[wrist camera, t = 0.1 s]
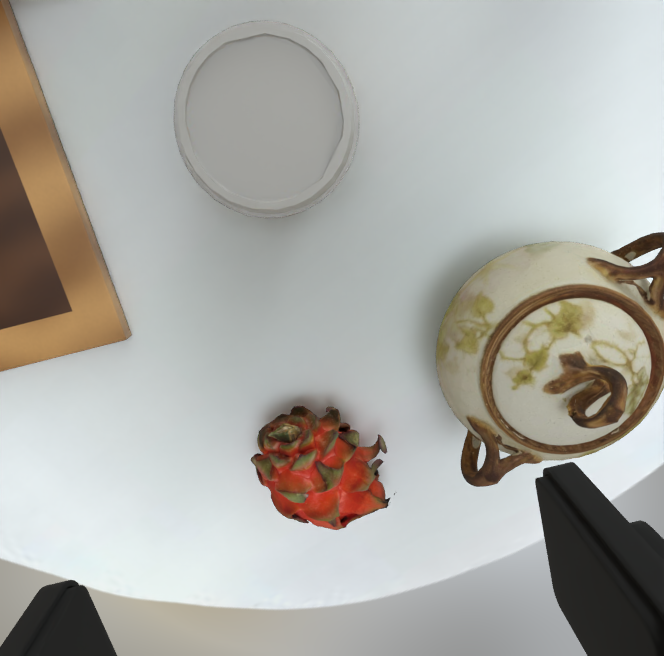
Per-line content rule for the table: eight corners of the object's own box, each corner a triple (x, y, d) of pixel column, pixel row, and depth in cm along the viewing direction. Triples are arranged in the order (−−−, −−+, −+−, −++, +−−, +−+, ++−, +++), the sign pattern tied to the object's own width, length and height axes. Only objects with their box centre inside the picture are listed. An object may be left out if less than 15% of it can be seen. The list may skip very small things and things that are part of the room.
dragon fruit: (262, 386, 44) (372, 453, 48) (211, 482, 41) (333, 546, 45) (307, 376, 37) (431, 456, 41) (249, 493, 34) (391, 567, 38)
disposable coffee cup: (264, 233, 40) (242, 255, 28) (186, 118, 37) (126, 89, 26) (373, 160, 38) (397, 151, 27) (299, 37, 36) (290, -32, 25)
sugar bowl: (509, 469, 45) (600, 604, 31) (365, 378, 43) (389, 478, 28) (669, 277, 41) (859, 329, 27) (519, 164, 39) (640, 154, 24)
